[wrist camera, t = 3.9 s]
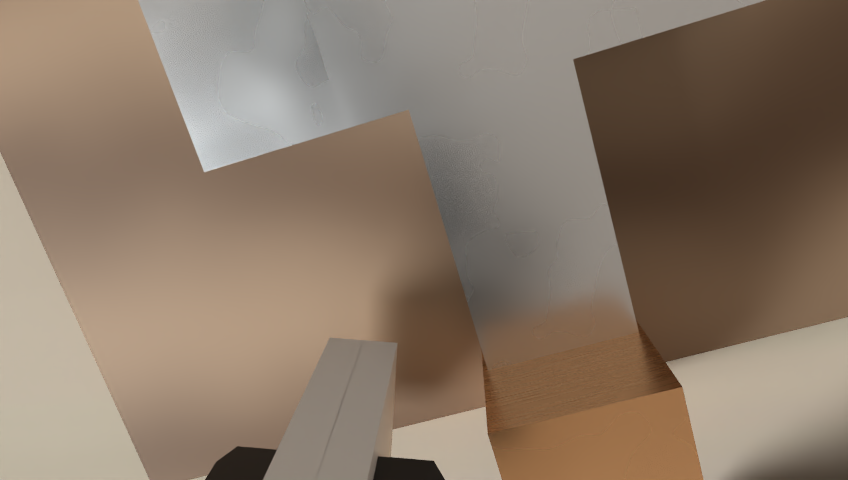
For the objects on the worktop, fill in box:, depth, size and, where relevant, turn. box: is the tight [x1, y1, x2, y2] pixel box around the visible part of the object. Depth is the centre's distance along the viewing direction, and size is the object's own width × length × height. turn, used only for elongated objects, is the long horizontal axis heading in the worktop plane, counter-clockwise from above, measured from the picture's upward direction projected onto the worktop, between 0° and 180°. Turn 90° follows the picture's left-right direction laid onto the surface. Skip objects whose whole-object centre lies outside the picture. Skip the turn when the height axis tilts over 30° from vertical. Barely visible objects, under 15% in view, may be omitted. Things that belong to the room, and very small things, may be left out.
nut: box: [138, 0, 765, 480], centre depth 12 cm, size 20×11×5 cm, turn 17°
